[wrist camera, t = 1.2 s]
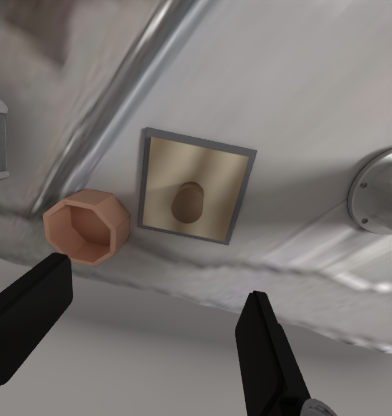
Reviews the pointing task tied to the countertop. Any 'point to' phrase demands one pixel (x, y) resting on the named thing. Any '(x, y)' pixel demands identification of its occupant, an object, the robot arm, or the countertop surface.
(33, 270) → the robot arm
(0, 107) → the first aid kit
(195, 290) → the countertop surface
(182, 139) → the mat
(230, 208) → the cover
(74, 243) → the bowl
